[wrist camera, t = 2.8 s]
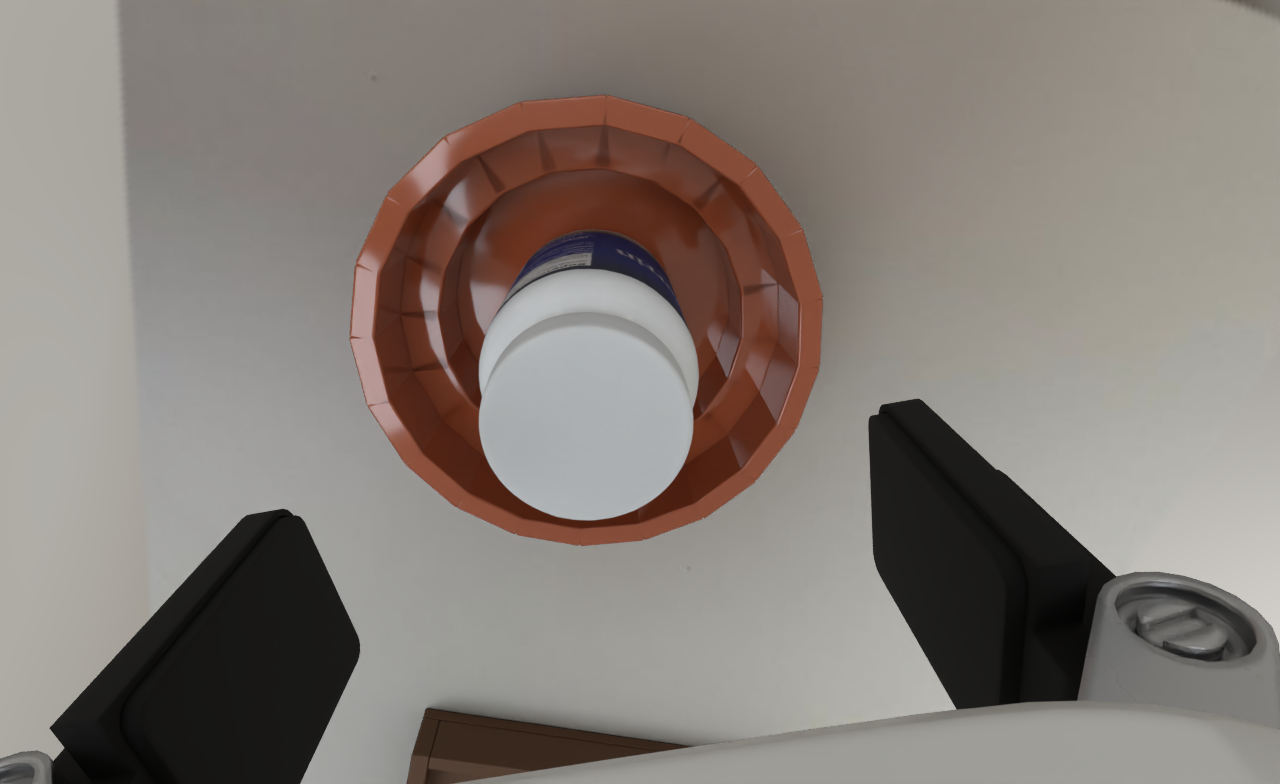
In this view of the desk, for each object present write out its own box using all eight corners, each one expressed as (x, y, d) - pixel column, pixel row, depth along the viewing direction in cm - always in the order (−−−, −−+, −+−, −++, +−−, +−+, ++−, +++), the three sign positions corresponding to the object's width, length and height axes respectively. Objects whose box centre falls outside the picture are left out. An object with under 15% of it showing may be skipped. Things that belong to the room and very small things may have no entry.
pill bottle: (701, 333, 24) (762, 473, 14) (569, 406, 24) (547, 580, 15) (622, 192, 21) (635, 251, 12) (481, 277, 22) (394, 391, 13)
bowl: (327, 283, 23) (248, 331, 18) (612, 3, 20) (614, -34, 15) (581, 518, 27) (576, 610, 22) (845, 319, 24) (908, 373, 19)
